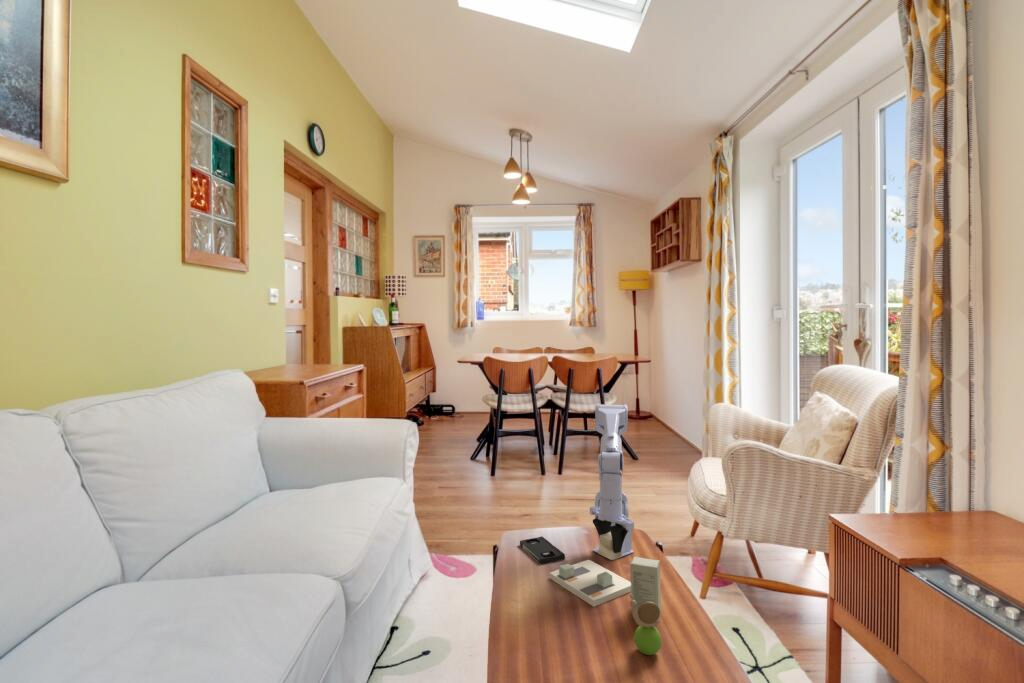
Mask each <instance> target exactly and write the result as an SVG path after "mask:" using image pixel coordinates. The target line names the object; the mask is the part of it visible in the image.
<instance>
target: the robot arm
mask: <svg viewBox="0 0 1024 683" xmlns="http://www.w3.org/2000/svg"><path fill="white" fill-rule="evenodd" d="M594 412H595V413H594V414H595V415H594V416H595V417H594V418H595V419H594V420H595V421H594V422H595V429H596V432H598V433H599V434H601V435H602V436H601V438H600V452H599V453H598V455H597V456H598V457H597V470H598V479H599V491H598V492H597V493H596V495H595V498H594V506H593V505H592V506H589V515H591V516H594V518H593V519H592V524H593V525H594V527H595V529H596V531H597V534H598V540H599V541H598V543H599V544H598V545H599V546H598V547H596V548H593V549H592V551H593V552H595V553H597V554H598V555H600V556H602V557H604V556H603V555H601V554H600V535H602V534H605V533H609V532H611V535H612V541H613V552H614V553H618V552H621V556H620V557H617V558H614V559H611V560H610V561H614V560H617V559H619V558H622V557H625V556H628V555H630V554H633V553H634V552H635V551H634V550H633V544H632V543H633V542H632V541H633V539H632V538H633V536H632V535H633V534H632V533H633V532H632V531H634V530H635V521H633V520H631V519H629V498H628V496H627V494H625V493H624V492H623V474H624V471H625V470H624V468H625V467H624V465H625V461H624V453H623V449H622V447H623V446H622V444H623V443H622V442H623V441H622V438H621V435H624V434H626V433H627V430H628V424H629V423H628V422H629V419H628V418H629V417H628V416H629V410H628V405H627V404H599V403H597V404H596V405H595V411H594Z"/></svg>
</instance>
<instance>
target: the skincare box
mask: <svg viewBox="0 0 1024 683" xmlns="http://www.w3.org/2000/svg"><path fill="white" fill-rule="evenodd" d="M629 564H630V565H629V566H630V582H631V592H630V594H632V596H633V598H632V600H635V601H636V602H637V606H636V607H637V611H638V609H639V607H640V605H641V604H643V603H644V602H648V601H650V602H654V603H655V604H657V605H658V607H659V609H660V617H659V619H658V620H660V618H661V615H662V590H661V589H662V588H661V587H662V586H661V581H662V580H661V560H660V559H659V560H658V559H653V558H648V557H647V558H646V557H639V556H633V558H632V560H631V561H630V563H629ZM631 615H632V616H633V614H632V613H631Z"/></svg>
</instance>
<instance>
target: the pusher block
mask: <svg viewBox="0 0 1024 683" xmlns="http://www.w3.org/2000/svg"><path fill="white" fill-rule="evenodd" d="M600 554H601V555H600ZM600 554H599V555H600V556H602V555H603V556H602V557H604V558H607V559H609V561H612V560H611V559H614V558H617V557H620V556H621V552H618V553H614V552H613V541H612V535H611V532H609V533H605V534H602V535H600ZM620 558H621V557H620ZM617 559H618V558H617ZM614 560H615V559H614Z"/></svg>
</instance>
